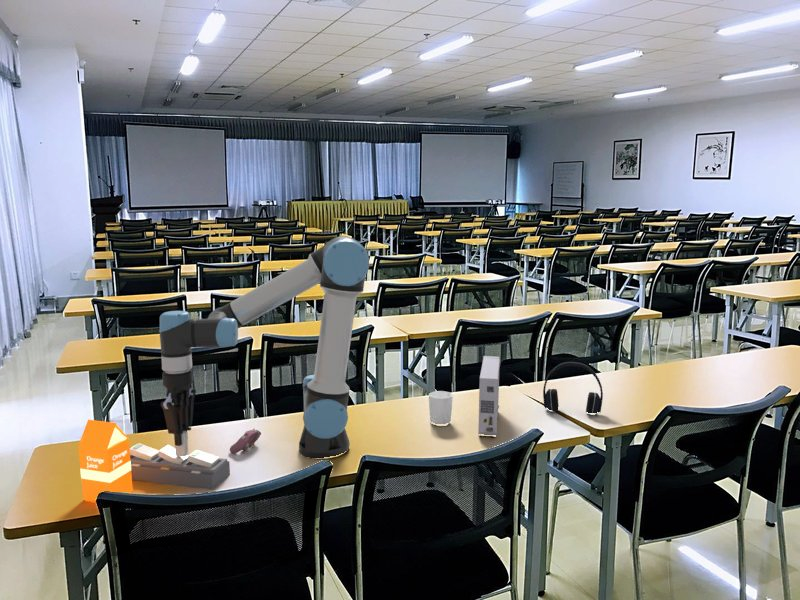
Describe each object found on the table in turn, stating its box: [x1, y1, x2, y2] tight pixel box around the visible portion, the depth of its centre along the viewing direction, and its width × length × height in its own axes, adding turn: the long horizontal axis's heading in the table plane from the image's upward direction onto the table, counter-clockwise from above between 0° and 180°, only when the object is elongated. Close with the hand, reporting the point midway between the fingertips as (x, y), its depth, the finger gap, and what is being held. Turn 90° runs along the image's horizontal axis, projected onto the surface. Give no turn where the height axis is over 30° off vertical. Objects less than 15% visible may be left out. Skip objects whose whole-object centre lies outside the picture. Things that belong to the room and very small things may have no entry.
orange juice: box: [77, 419, 134, 503], centre depth 159 cm, size 8×9×20 cm
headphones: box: [542, 361, 604, 414], centre depth 220 cm, size 20×7×18 cm, turn 74°
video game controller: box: [229, 428, 262, 454], centre depth 190 cm, size 10×5×7 cm, turn 161°
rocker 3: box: [188, 449, 221, 468], centre depth 168 cm, size 7×4×2 cm, turn 76°
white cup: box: [428, 390, 454, 424], centre depth 210 cm, size 8×8×10 cm
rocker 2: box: [158, 444, 189, 464], centre depth 170 cm, size 7×4×2 cm, turn 76°
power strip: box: [130, 455, 231, 490], centre depth 171 cm, size 28×9×5 cm, turn 76°
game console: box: [477, 355, 501, 436], centre depth 209 cm, size 6×27×20 cm, turn 170°
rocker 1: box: [129, 442, 159, 461], centre depth 173 cm, size 7×4×2 cm, turn 76°
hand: (182, 454), depth 169 cm, fingers closed
